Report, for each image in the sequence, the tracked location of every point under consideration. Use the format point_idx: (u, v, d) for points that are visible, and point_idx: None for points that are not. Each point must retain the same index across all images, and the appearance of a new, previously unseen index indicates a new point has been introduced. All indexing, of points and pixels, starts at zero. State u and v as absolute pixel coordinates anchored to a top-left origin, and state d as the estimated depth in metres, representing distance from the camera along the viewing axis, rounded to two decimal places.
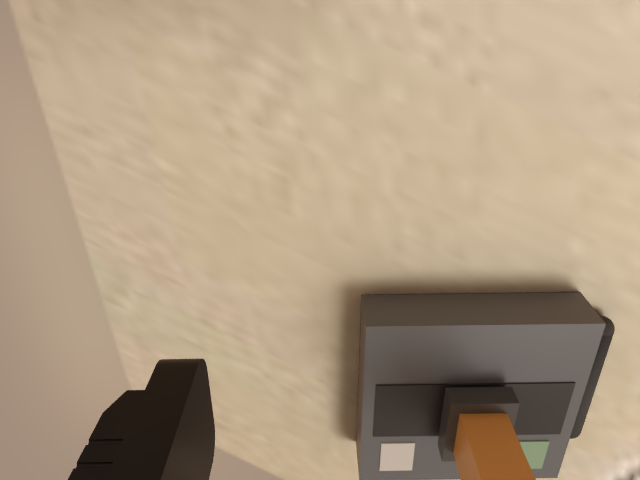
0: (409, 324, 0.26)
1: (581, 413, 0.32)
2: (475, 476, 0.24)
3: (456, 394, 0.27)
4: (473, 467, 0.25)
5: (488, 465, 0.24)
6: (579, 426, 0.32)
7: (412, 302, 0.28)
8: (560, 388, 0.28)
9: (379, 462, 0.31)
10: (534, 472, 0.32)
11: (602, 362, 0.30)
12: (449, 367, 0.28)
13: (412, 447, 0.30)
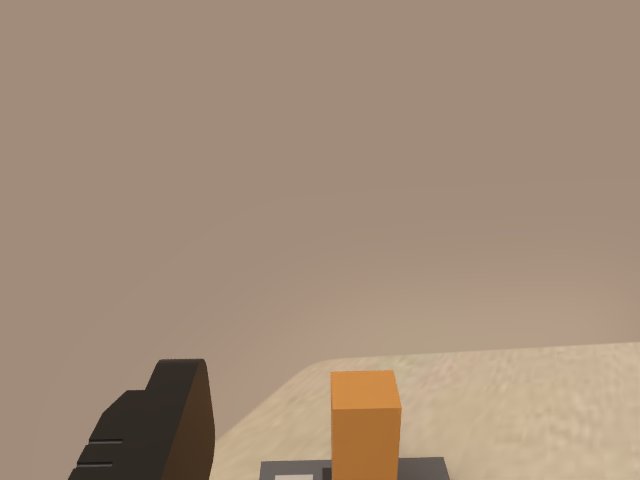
0: None
1: None
2: None
3: None
4: None
5: None
6: None
7: None
8: None
9: (284, 475, 0.33)
10: None
11: None
12: None
13: None
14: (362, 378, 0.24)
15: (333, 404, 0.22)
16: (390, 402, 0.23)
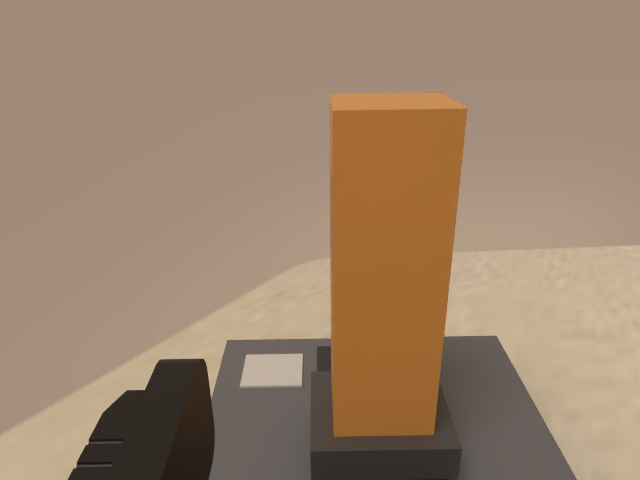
0: (514, 371, 0.21)
1: None
2: None
3: None
4: None
5: None
6: None
7: None
8: None
9: (260, 355, 0.22)
10: None
11: None
12: (459, 410, 0.19)
13: (293, 382, 0.20)
14: (388, 96, 0.13)
15: (334, 108, 0.12)
16: (444, 106, 0.12)
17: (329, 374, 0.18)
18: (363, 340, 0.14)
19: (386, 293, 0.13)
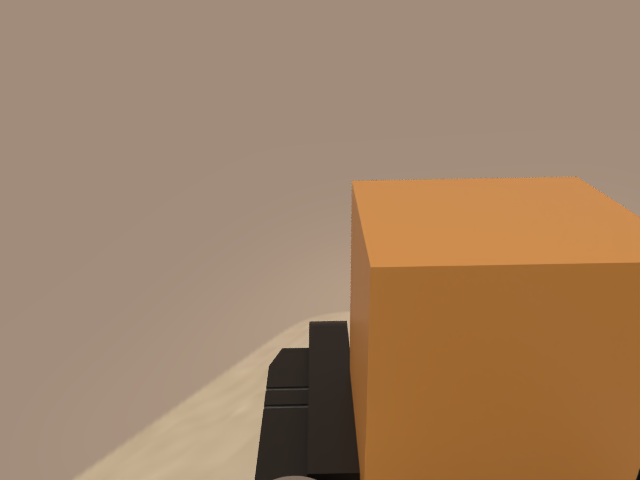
0: None
1: None
2: None
3: None
4: None
5: None
6: None
7: None
8: None
9: None
10: None
11: None
12: None
13: None
14: (475, 191, 0.06)
15: (373, 252, 0.05)
16: (637, 245, 0.05)
17: None
18: None
19: None
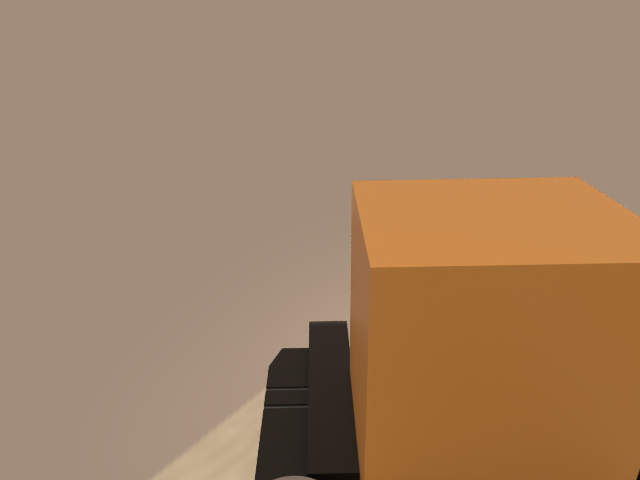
0: None
1: None
2: None
3: None
4: None
5: None
6: None
7: None
8: None
9: None
10: None
11: None
12: None
13: None
14: (475, 192, 0.06)
15: (373, 252, 0.05)
16: (638, 245, 0.05)
17: None
18: None
19: None
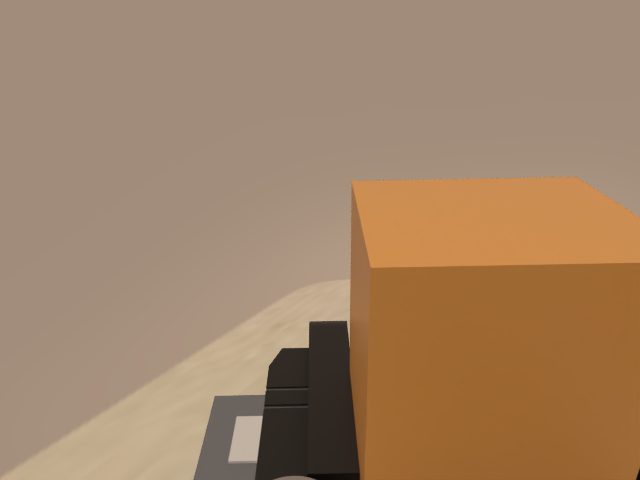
0: None
1: None
2: None
3: None
4: None
5: None
6: None
7: None
8: None
9: (253, 417, 0.18)
10: None
11: None
12: None
13: None
14: (474, 192, 0.06)
15: (373, 253, 0.05)
16: (637, 245, 0.05)
17: None
18: None
19: None
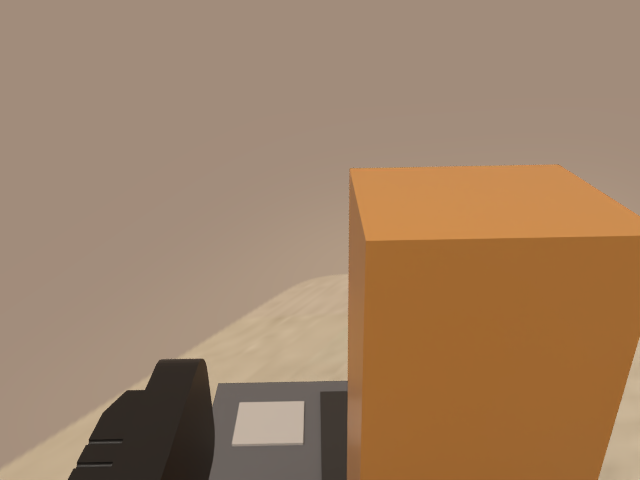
0: None
1: None
2: None
3: None
4: None
5: None
6: None
7: None
8: None
9: (256, 403, 0.19)
10: None
11: None
12: None
13: (293, 439, 0.17)
14: (463, 177, 0.07)
15: (368, 229, 0.05)
16: (606, 221, 0.05)
17: None
18: None
19: None
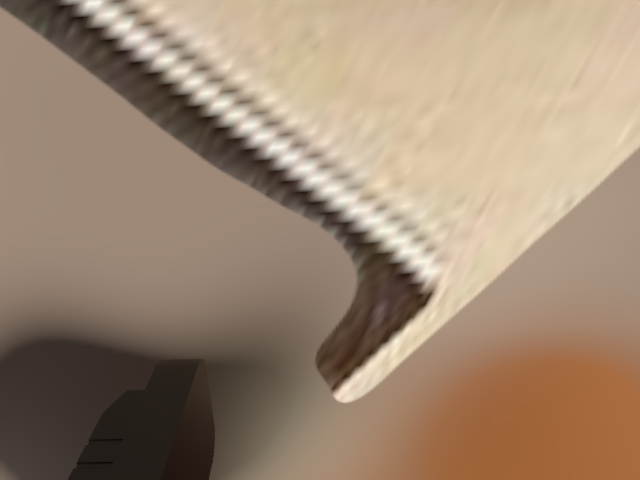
0: None
1: None
2: None
3: None
4: None
5: None
6: None
7: None
8: None
9: None
10: None
11: None
12: None
13: None
14: None
15: None
16: None
17: None
18: None
19: None
